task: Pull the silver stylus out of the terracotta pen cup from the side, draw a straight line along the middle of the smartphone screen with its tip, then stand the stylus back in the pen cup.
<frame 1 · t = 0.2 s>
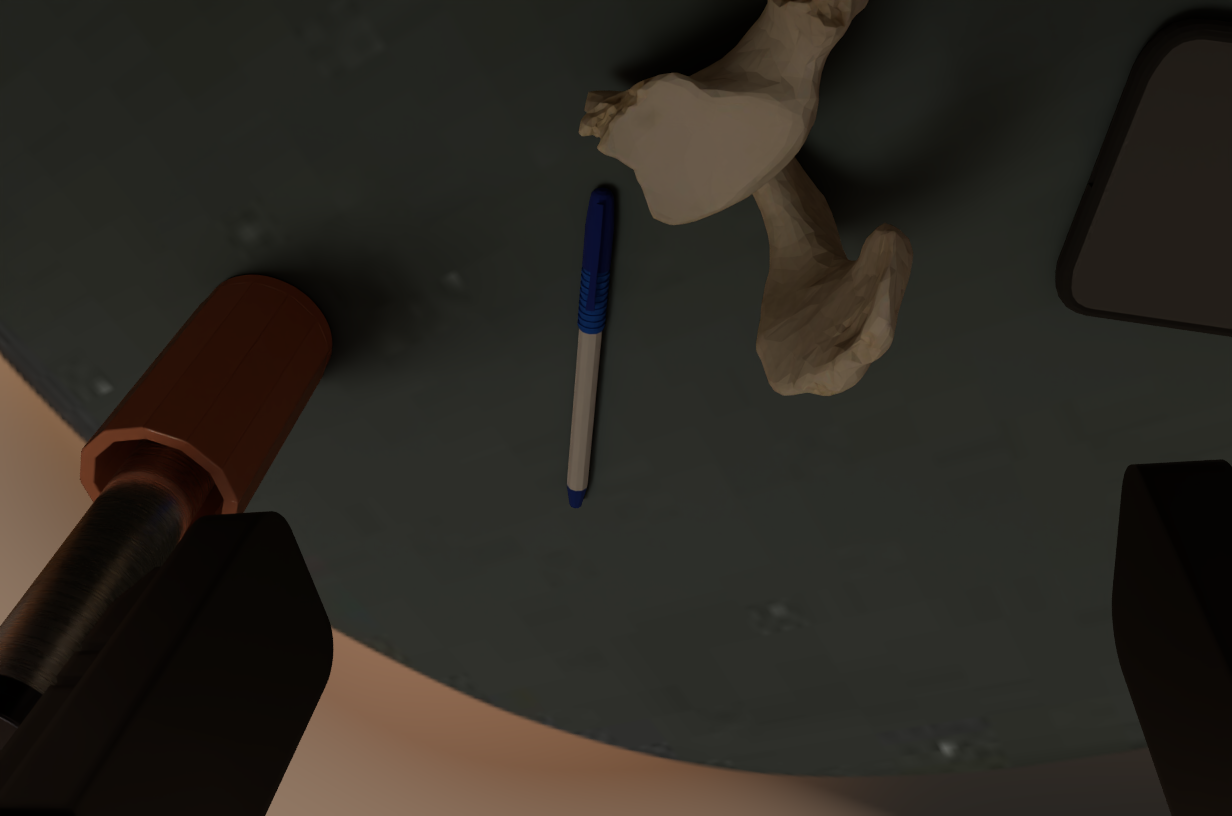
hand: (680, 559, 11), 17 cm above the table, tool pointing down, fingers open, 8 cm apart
bone: (738, 87, 25), on the table
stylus: (262, 340, 31), resting on pen cup
pen cup: (269, 330, 31), on the table
ballpoint pen: (591, 352, 31), on the table
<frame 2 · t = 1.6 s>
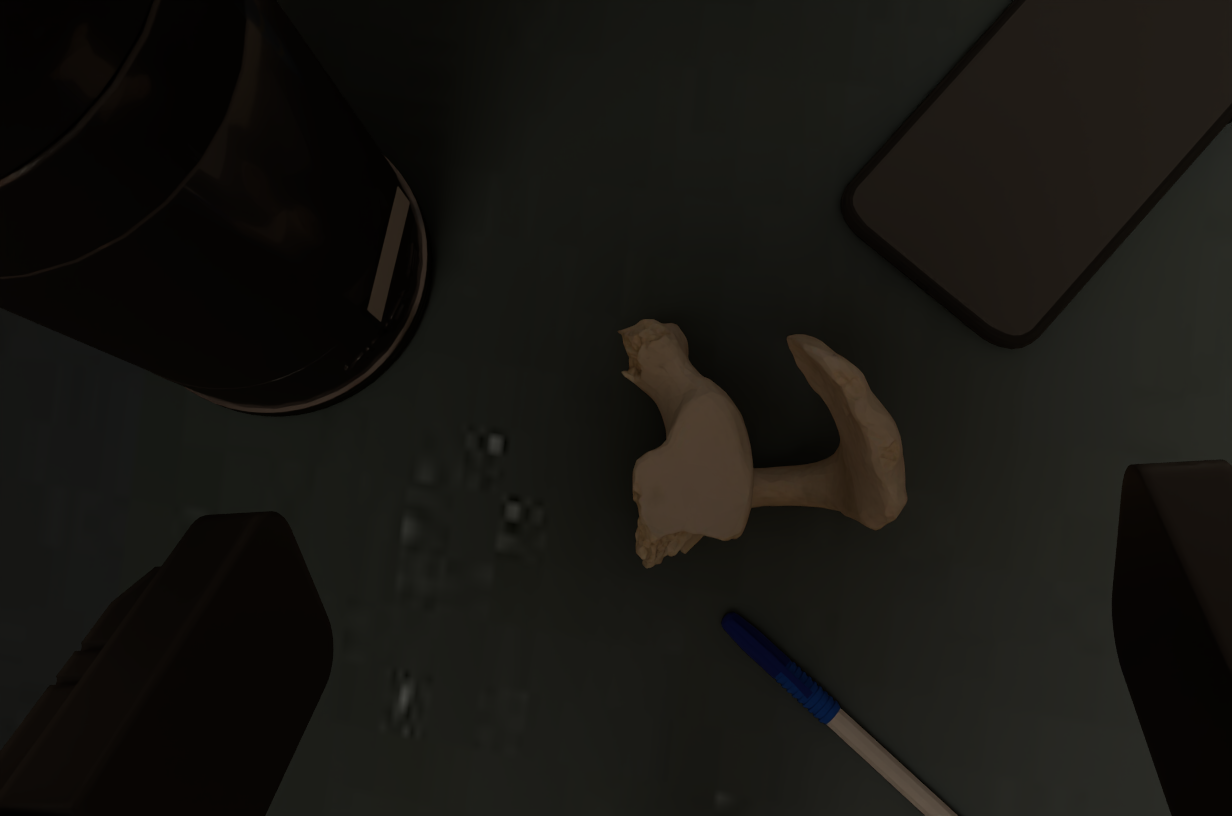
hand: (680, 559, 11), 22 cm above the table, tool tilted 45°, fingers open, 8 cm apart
bone: (716, 478, 33), on the table
smartphone: (1072, 113, 34), on the table
ballpoint pen: (862, 741, 31), on the table
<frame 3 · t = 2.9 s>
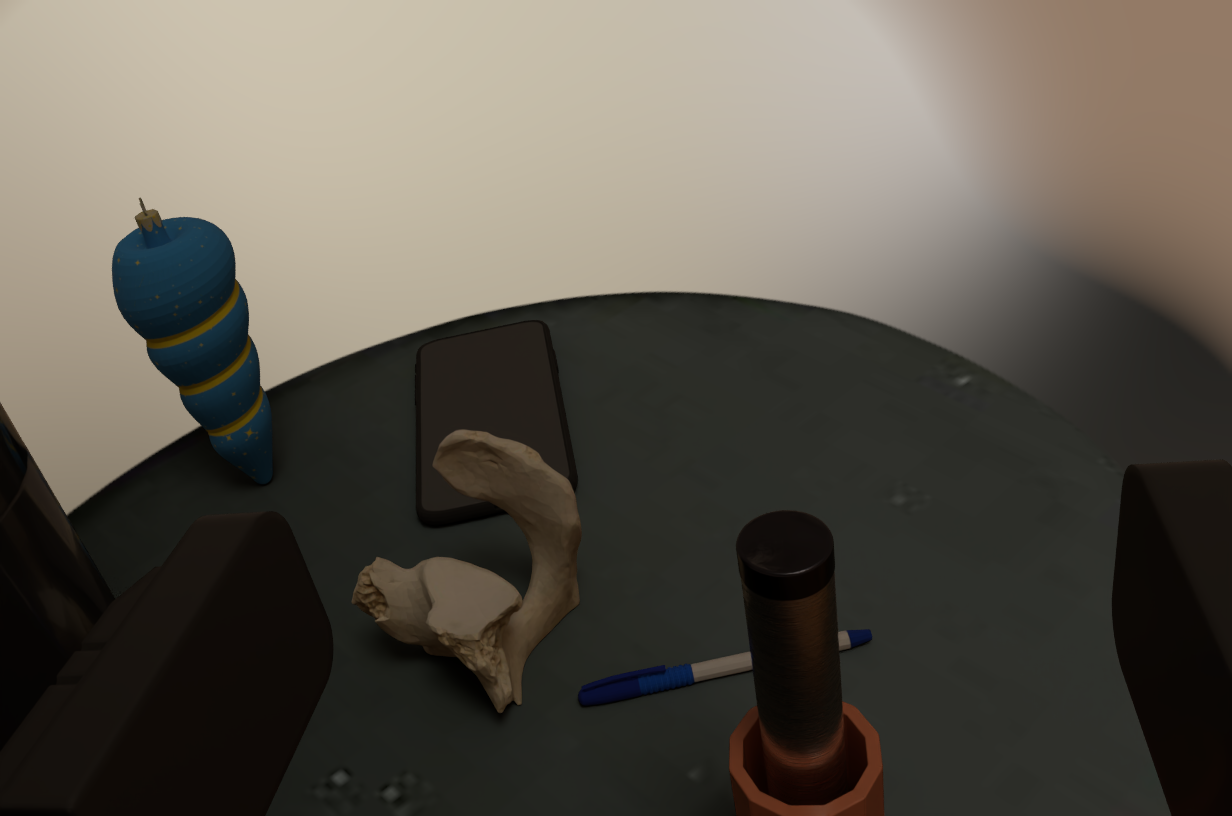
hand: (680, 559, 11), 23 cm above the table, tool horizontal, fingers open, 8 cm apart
bone: (497, 664, 41), on the table
smartphone: (492, 422, 54), on the table
ornament: (268, 486, 52), on the table
ballpoint pen: (726, 676, 39), on the table
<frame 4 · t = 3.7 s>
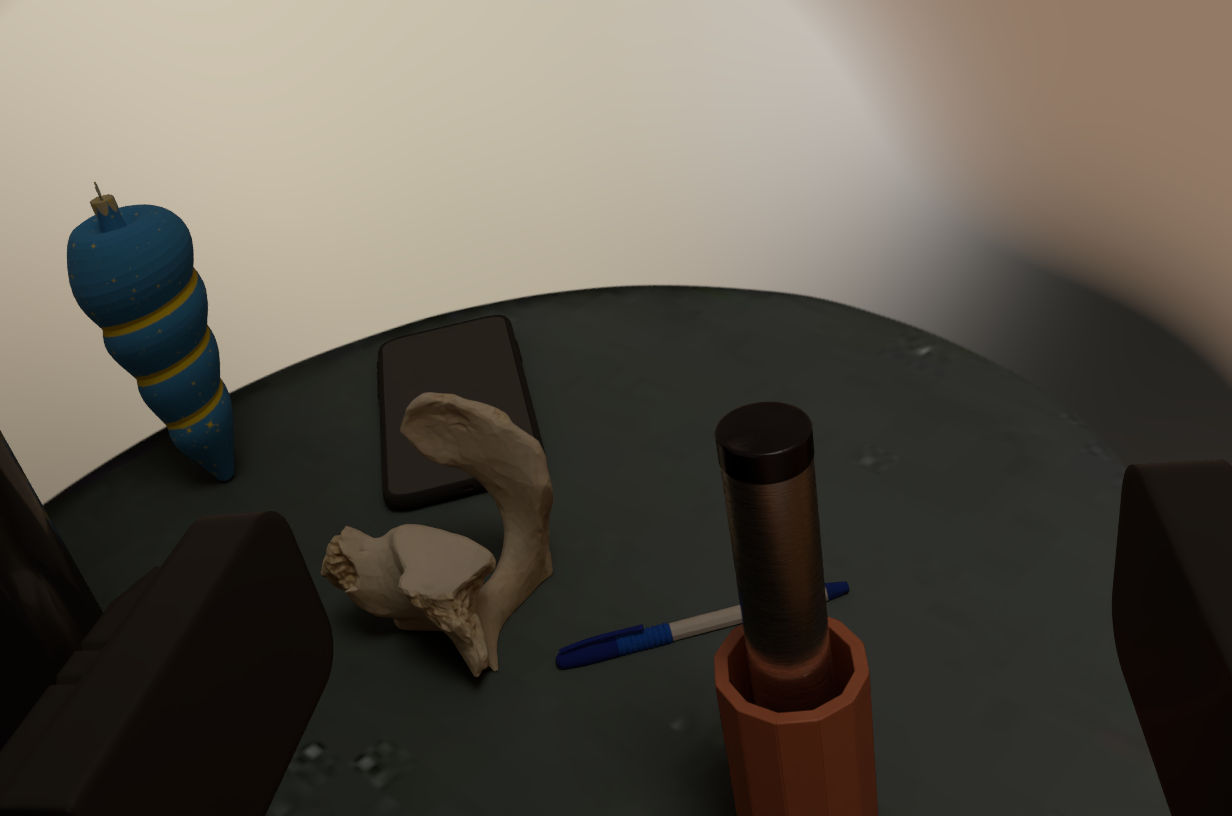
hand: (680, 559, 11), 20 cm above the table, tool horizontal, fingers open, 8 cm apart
bone: (471, 635, 40), on the table
smartphone: (457, 412, 53), on the table
ornament: (229, 483, 51), on the table
ballpoint pen: (705, 635, 38), on the table
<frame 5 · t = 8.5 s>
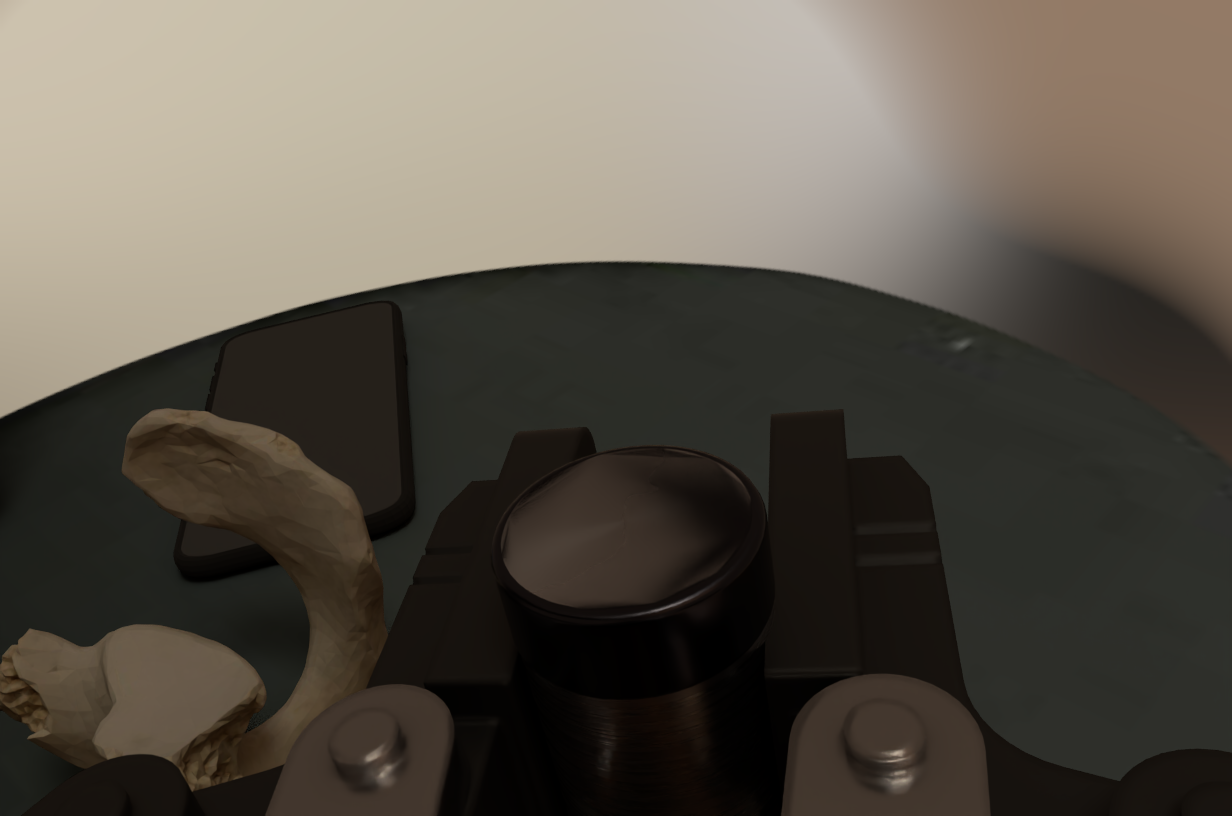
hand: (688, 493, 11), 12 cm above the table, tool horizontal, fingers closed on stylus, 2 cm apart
bone: (253, 797, 25), on the table
smartphone: (311, 432, 38), on the table
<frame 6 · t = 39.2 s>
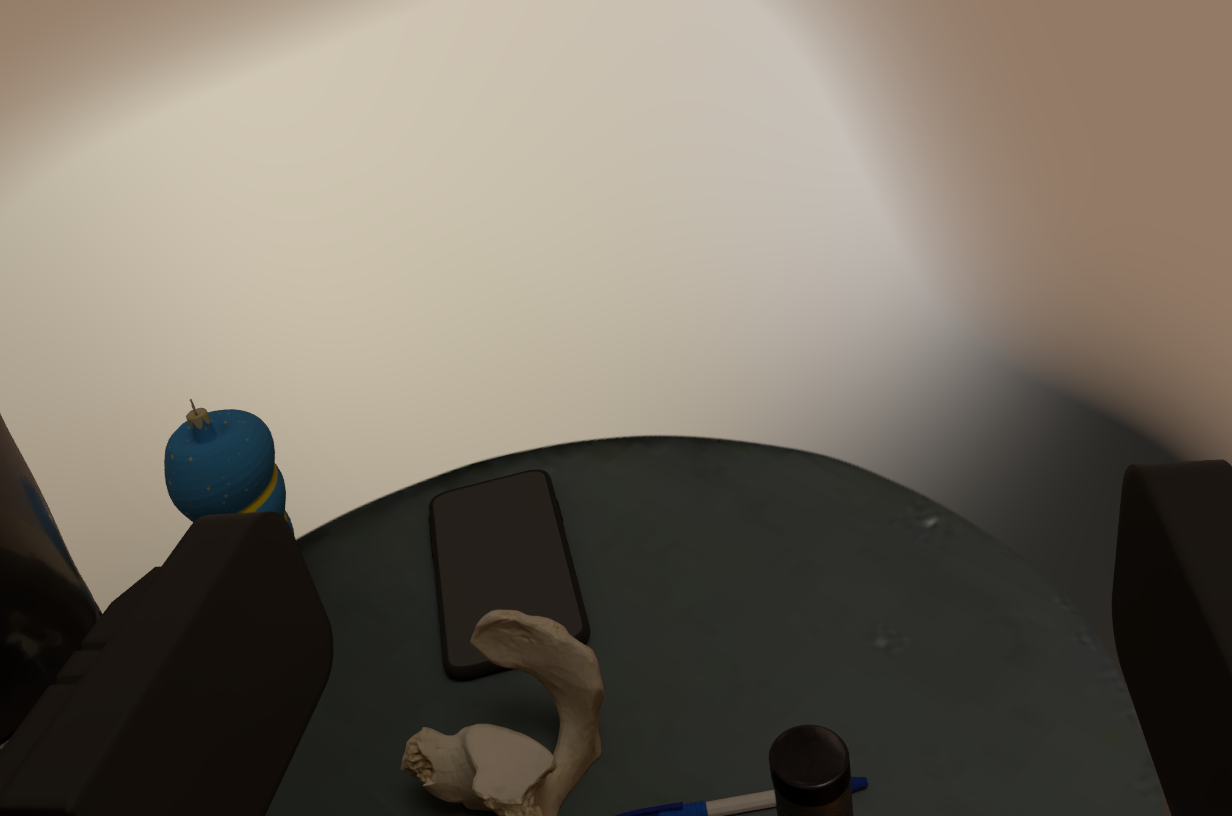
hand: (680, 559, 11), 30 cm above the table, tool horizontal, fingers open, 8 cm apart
smartphone: (505, 572, 58), on the table
ornament: (300, 643, 57), on the table
ballpoint pen: (737, 814, 44), on the table
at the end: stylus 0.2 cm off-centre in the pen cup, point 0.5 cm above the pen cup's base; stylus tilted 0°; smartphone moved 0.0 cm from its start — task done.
